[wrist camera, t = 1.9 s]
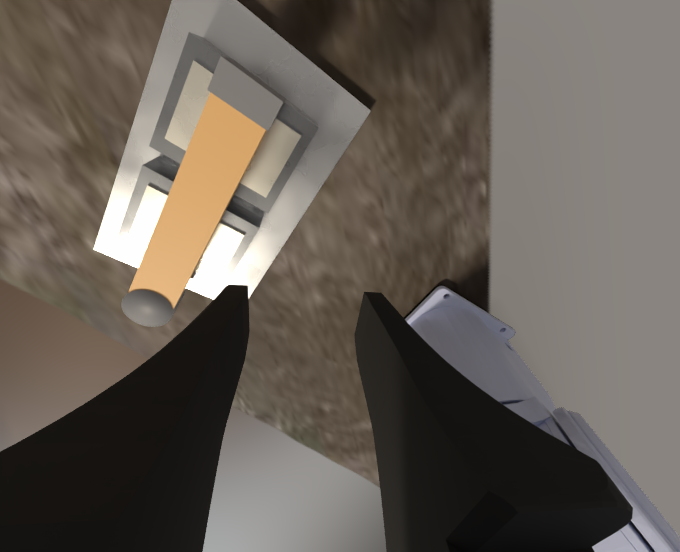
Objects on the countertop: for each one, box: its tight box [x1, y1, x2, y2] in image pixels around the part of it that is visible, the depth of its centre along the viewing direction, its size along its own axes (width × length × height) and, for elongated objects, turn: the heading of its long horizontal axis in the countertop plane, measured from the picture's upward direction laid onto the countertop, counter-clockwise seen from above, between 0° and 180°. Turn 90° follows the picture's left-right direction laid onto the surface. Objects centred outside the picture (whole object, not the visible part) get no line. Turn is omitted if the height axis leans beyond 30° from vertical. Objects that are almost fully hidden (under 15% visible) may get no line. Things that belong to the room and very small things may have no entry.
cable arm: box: [121, 56, 286, 327], centre depth 14 cm, size 13×2×2 cm, turn 145°
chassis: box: [93, 0, 371, 299], centre depth 16 cm, size 10×16×3 cm, turn 145°
